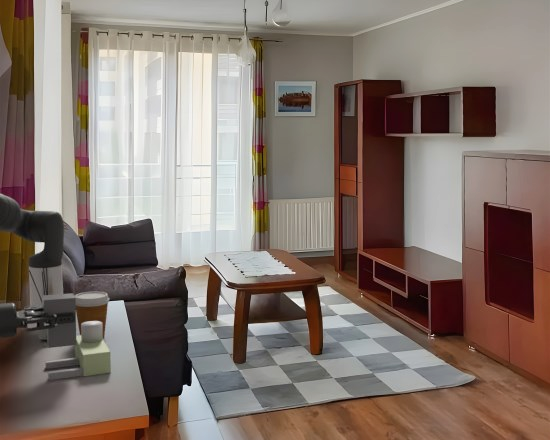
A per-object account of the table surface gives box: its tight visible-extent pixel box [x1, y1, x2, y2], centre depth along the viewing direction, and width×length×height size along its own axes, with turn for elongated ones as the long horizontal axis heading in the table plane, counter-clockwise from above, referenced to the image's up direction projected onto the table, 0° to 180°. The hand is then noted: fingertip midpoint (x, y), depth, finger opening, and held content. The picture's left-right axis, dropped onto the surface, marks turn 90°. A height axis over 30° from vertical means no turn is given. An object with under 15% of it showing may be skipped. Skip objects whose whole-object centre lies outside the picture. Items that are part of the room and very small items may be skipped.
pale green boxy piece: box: [45, 321, 112, 381], centre depth 149 cm, size 16×14×9 cm
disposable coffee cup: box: [74, 291, 110, 339], centre depth 170 cm, size 10×10×12 cm
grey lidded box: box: [42, 292, 77, 349], centre depth 143 cm, size 5×7×11 cm
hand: (72, 314), depth 145 cm, fingers closed on grey lidded box, 5 cm apart
